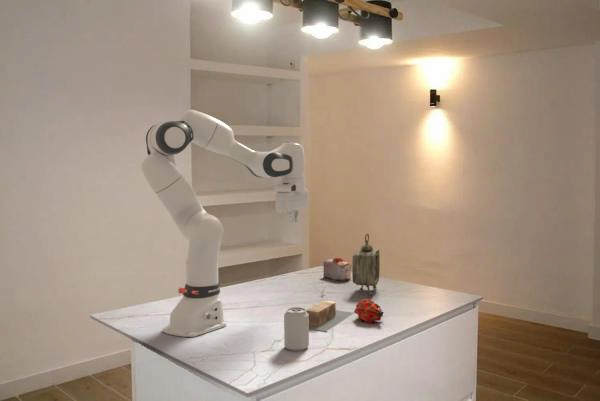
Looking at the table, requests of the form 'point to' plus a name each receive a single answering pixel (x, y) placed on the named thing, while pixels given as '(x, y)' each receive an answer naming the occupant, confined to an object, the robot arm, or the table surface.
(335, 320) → the rubber mat
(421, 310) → the table surface
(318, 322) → the light brown wooden block
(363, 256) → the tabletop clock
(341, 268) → the food item
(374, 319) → the dragon fruit
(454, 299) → the table surface
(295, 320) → the can
